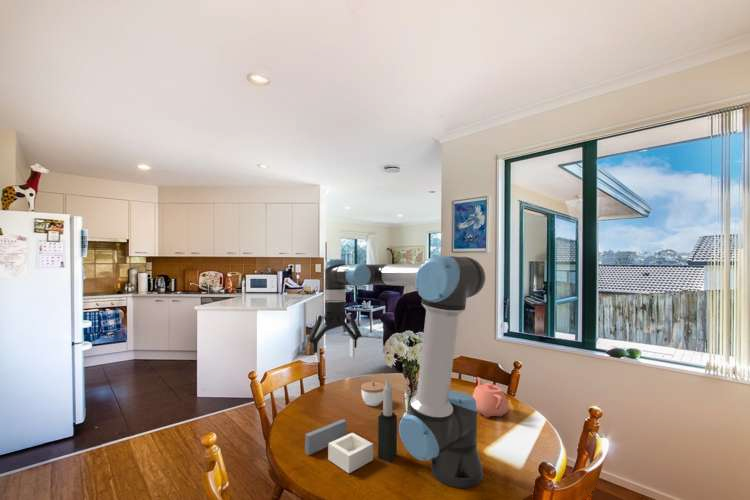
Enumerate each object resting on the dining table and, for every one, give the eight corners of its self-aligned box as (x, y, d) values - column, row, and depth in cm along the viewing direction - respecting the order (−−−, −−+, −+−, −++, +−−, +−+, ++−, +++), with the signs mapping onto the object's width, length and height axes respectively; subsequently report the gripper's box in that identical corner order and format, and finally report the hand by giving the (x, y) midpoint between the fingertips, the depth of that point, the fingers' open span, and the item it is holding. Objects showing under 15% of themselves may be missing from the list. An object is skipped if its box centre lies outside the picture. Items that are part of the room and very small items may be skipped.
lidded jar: (389, 402, 154) (389, 380, 154) (376, 410, 145) (377, 388, 145) (369, 396, 160) (369, 376, 160) (356, 404, 150) (356, 383, 151)
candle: (390, 462, 107) (390, 381, 108) (376, 457, 110) (377, 378, 111) (397, 455, 111) (398, 377, 112) (384, 450, 114) (385, 374, 115)
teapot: (490, 401, 155) (490, 374, 156) (517, 422, 136) (517, 391, 136) (463, 403, 153) (463, 376, 153) (486, 424, 133) (486, 392, 134)
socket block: (372, 460, 108) (373, 443, 108) (348, 473, 101) (349, 456, 101) (352, 447, 115) (352, 432, 115) (328, 459, 108) (328, 443, 108)
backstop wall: (346, 437, 122) (346, 420, 122) (308, 455, 111) (308, 436, 111) (342, 435, 123) (343, 418, 123) (304, 452, 112) (305, 434, 112)
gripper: (361, 298, 136) (361, 352, 135) (299, 301, 124) (298, 361, 123) (370, 300, 129) (370, 357, 128) (305, 303, 117) (304, 366, 116)
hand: (335, 359), depth 125 cm, fingers open, 13 cm apart
